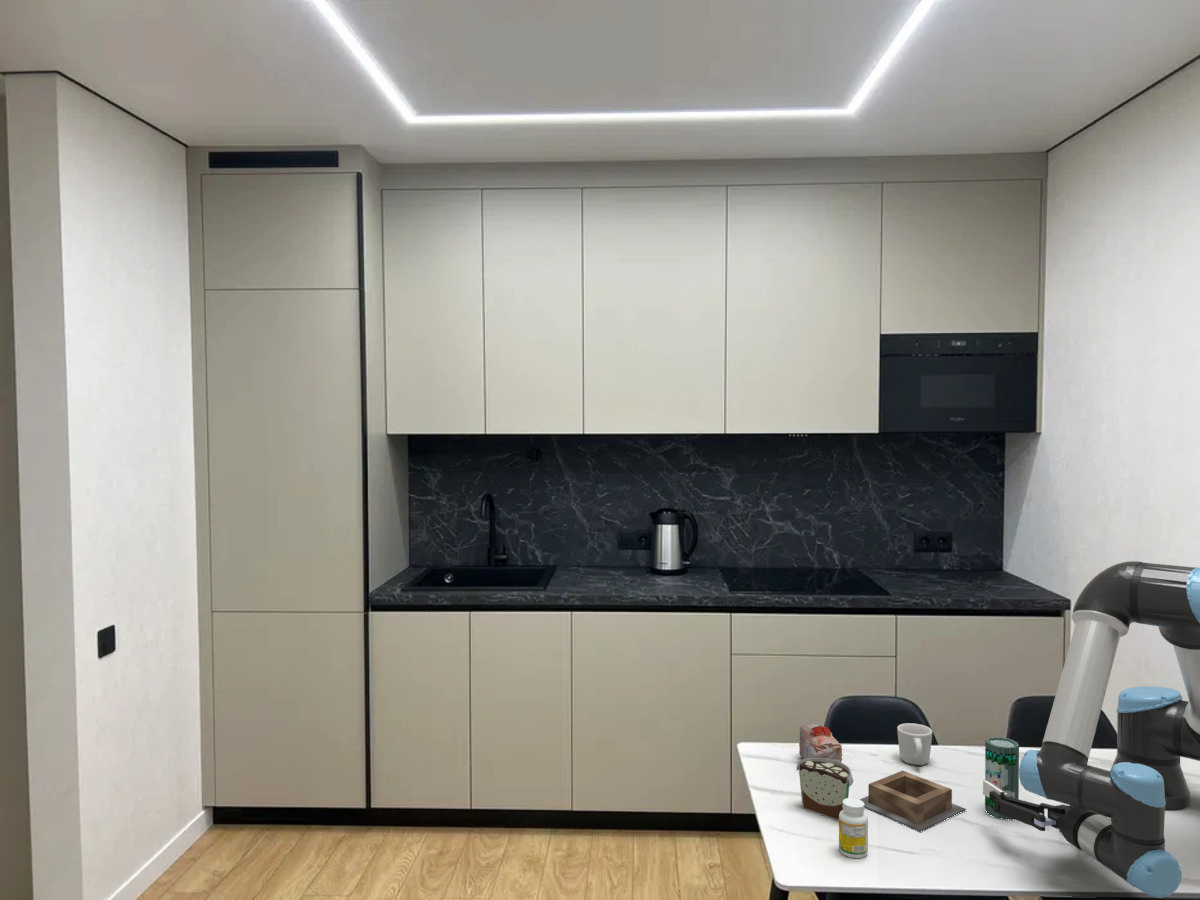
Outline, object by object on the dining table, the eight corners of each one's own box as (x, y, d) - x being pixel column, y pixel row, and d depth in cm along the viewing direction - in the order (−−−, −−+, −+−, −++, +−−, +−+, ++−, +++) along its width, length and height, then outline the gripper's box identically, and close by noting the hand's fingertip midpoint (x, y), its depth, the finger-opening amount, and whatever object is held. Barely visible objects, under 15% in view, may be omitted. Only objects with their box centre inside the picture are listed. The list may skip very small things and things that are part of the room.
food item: (846, 778, 196) (846, 736, 195) (813, 780, 195) (813, 738, 194) (825, 755, 209) (825, 716, 209) (793, 757, 208) (793, 717, 208)
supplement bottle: (860, 862, 159) (860, 811, 158) (833, 852, 162) (834, 803, 162) (872, 850, 163) (872, 801, 162) (846, 842, 166) (846, 793, 166)
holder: (965, 810, 179) (966, 790, 179) (920, 832, 170) (920, 810, 170) (900, 784, 192) (900, 765, 192) (854, 803, 183) (854, 783, 183)
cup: (937, 774, 197) (937, 740, 197) (901, 771, 199) (901, 738, 199) (929, 756, 208) (929, 724, 208) (895, 753, 210) (895, 721, 209)
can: (980, 812, 178) (980, 741, 178) (994, 804, 182) (995, 734, 181) (1008, 822, 173) (1009, 750, 173) (1023, 814, 177) (1023, 743, 177)
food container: (863, 814, 178) (863, 767, 177) (850, 825, 173) (850, 776, 173) (810, 797, 186) (810, 752, 186) (796, 806, 181) (796, 760, 181)
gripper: (1031, 861, 149) (959, 807, 170) (1153, 847, 154) (1068, 796, 175) (1031, 819, 149) (959, 771, 170) (1154, 806, 154) (1068, 760, 175)
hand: (1014, 783), depth 172 cm, fingers open, 13 cm apart
